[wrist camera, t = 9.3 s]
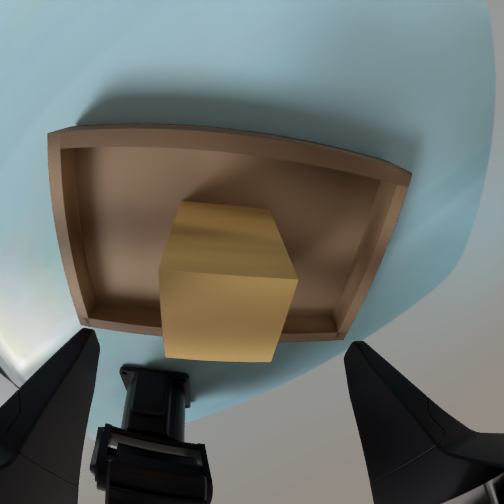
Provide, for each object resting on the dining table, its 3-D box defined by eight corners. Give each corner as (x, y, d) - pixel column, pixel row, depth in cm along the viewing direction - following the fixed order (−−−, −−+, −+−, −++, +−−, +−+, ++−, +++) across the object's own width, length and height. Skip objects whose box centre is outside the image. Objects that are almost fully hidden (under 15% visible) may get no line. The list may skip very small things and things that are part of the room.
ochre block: (255, 280, 16) (270, 361, 11) (178, 274, 16) (165, 357, 10) (269, 209, 14) (298, 279, 9) (181, 200, 13) (158, 269, 8)
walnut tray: (333, 316, 20) (343, 339, 18) (91, 301, 17) (80, 325, 15) (388, 161, 14) (412, 173, 12) (70, 126, 11) (47, 133, 9)
